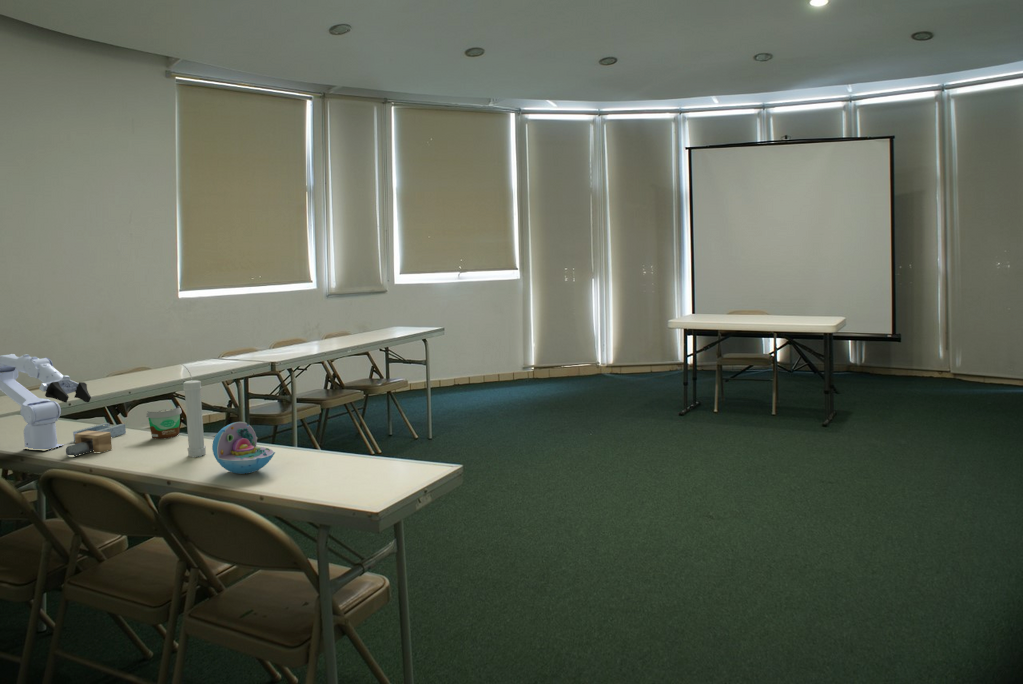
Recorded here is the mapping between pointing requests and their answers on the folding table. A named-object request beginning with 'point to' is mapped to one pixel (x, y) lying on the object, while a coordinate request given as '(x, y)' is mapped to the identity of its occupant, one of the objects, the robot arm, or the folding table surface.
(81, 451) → the axle
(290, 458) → the folding table surface
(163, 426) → the food container
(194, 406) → the pipe
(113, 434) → the cradle
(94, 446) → the beam
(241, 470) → the educational model
